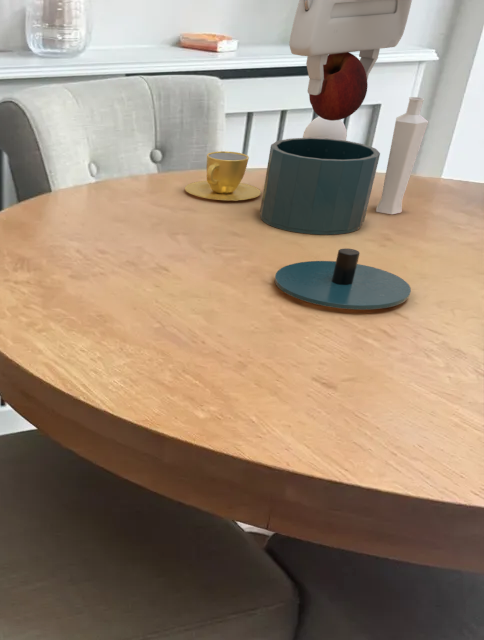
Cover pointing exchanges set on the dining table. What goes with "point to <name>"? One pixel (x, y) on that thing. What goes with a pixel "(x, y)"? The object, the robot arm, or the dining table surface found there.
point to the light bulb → (325, 129)
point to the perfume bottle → (402, 156)
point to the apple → (341, 87)
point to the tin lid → (342, 283)
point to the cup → (224, 178)
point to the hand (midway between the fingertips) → (336, 91)
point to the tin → (318, 185)
